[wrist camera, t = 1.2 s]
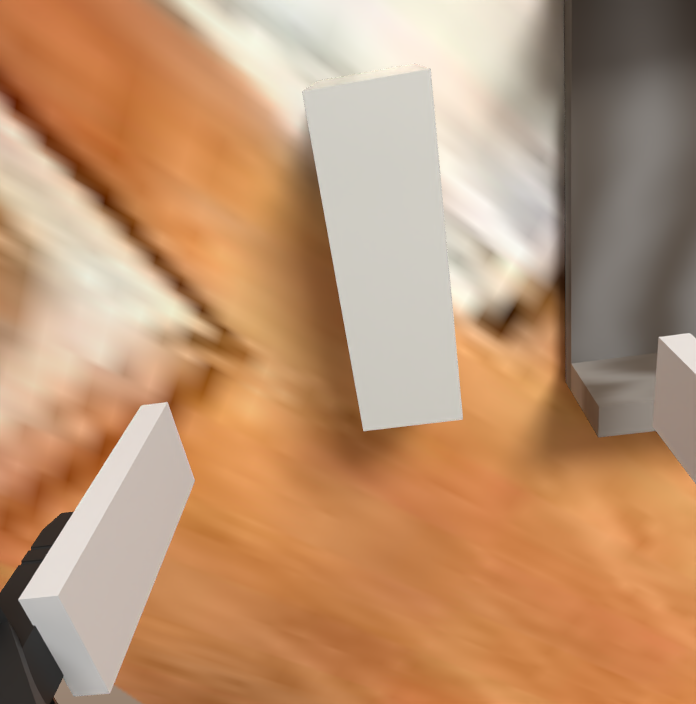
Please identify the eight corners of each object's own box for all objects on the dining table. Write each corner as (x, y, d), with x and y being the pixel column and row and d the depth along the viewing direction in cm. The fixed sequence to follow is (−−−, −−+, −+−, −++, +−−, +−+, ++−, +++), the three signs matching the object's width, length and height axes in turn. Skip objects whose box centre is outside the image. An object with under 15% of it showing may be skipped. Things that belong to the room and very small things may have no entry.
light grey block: (364, 351, 39) (363, 431, 31) (318, 80, 32) (301, 91, 24) (442, 341, 38) (462, 419, 30) (414, 63, 31) (430, 68, 23)
